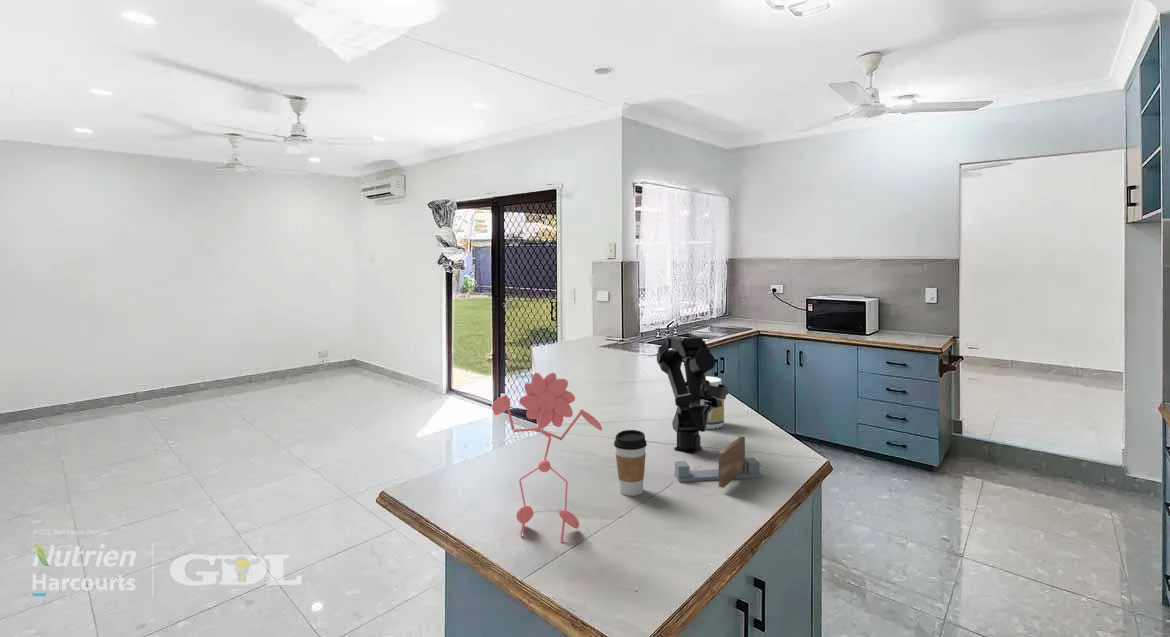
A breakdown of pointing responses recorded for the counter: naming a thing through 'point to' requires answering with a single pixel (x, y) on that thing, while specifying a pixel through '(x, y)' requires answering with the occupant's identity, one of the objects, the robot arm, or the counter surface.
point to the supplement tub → (715, 414)
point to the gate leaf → (731, 461)
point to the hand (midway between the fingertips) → (703, 431)
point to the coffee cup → (630, 461)
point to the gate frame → (715, 472)
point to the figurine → (545, 405)
